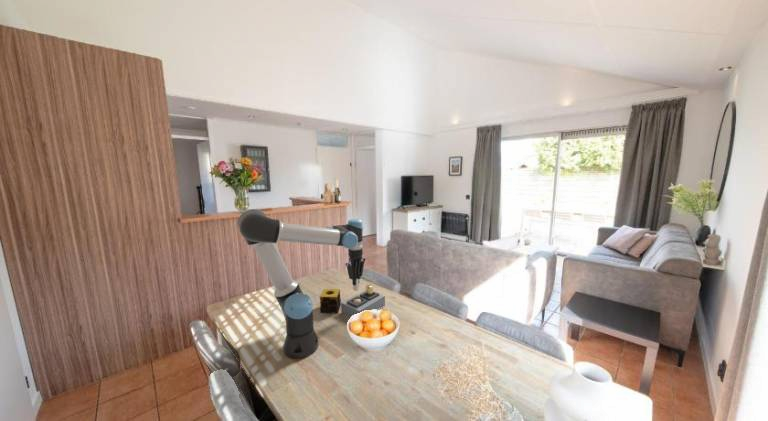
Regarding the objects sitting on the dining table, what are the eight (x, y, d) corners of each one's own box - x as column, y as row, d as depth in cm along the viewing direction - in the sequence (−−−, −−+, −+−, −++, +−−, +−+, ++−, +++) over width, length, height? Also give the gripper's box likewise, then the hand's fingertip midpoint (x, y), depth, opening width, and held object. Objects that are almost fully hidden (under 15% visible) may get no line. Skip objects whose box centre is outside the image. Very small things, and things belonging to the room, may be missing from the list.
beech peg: (357, 315, 149) (357, 303, 148) (352, 312, 152) (351, 300, 151) (362, 312, 152) (362, 300, 151) (357, 309, 155) (357, 298, 154)
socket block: (359, 321, 144) (359, 309, 142) (341, 312, 153) (341, 300, 151) (385, 305, 160) (384, 294, 158) (367, 298, 168) (367, 287, 167)
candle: (338, 313, 152) (337, 297, 150) (319, 313, 152) (319, 297, 150) (341, 304, 162) (340, 288, 160) (324, 304, 162) (323, 288, 160)
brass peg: (369, 300, 156) (369, 288, 155) (364, 297, 159) (364, 286, 158) (374, 297, 159) (374, 285, 158) (369, 295, 162) (369, 283, 161)
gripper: (351, 252, 139) (351, 296, 142) (369, 247, 149) (369, 288, 152) (341, 249, 143) (342, 292, 147) (359, 244, 153) (359, 284, 157)
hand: (355, 289), depth 150 cm, fingers closed
